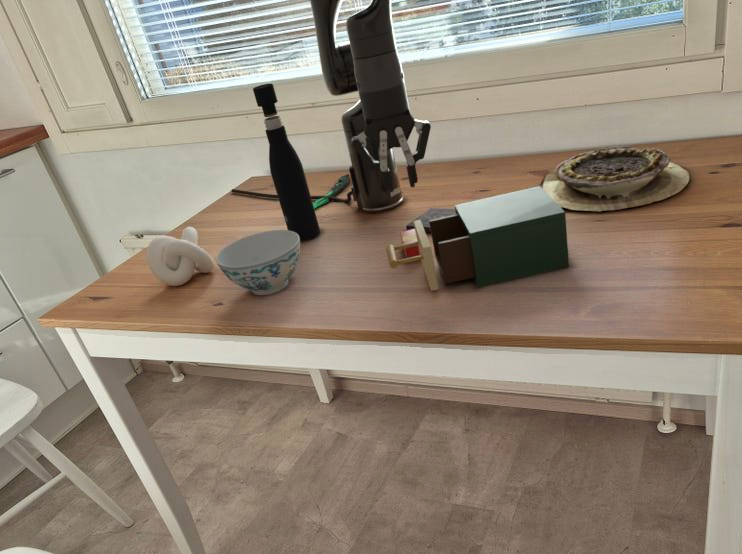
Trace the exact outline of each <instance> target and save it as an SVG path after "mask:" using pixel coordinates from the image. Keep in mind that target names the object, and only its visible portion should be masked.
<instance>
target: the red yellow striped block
mask: <svg viewBox="0 0 742 554" xmlns="http://www.w3.org/2000/svg"><path fill="white" fill-rule="evenodd" d="M399 233H400V238H401V242H402V244H407V243H411V242H415V241H417V237H416V232H415V229H411V230H407V229H406V230H402V231H399ZM403 251H404V255H405V258H410V257H414V256H419V255H420V252H419V247H418V246H414V247H409V248H405V249H403Z"/></svg>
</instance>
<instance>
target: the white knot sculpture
mask: <svg viewBox="0 0 742 554" xmlns="http://www.w3.org/2000/svg"><path fill="white" fill-rule="evenodd" d="M198 238H199V233H198V231H197V228H195V227H193V226H187V227H184V228H183V230H182V233H181V237H180V238H176V237H174V236H169V235H159V236H155V237H154V238H153V239H152V240H151V241H150V242H149V243H148V246H147V248H146V252H145V253H146V261H147V265H148V268H149V269H150V271H151V272H152V274H153V275H154V277H155V278H157V279H158V280H159V281H160V282H161V283H164V284H166V285H168V286H171V287H179V286H183V285H185V284H186V283H188V282H189V281H190V280H191V278H192V277H193V275H194V272H195V271H196V272H199V273H202V274H207V273H210V272H212V271H213V270H214V268H215V261H214V259H213V258H212V256H211V255H210V253H209V252H207V251H206V250H205V249H204V248H202V247H201V246H199V245H198V240H199V239H198Z"/></svg>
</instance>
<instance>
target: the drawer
mask: <svg viewBox="0 0 742 554" xmlns="http://www.w3.org/2000/svg"><path fill="white" fill-rule="evenodd" d="M412 221H413V220H412ZM413 222H414V227H415V232H416V237H417V241H415V242H411V243H407V244H403V243H402V244H398V245H393V244H387V246H386V247H385V251H386V255H387V261H388V265H389V268H390V269H392V270H393V269H394V270H395V269H397V268H398V267H399V265H404V264H409V263H414V262H418V261H421V265H422V267H423V271H424V273H425V277H426V280H427V283H428V285H429V289H430V291H431V292H432V291H437V290H439V284H438V278H437V273H436V268H435V262H434V258H433V257H435V260H436V262H437V264H438V268H439V271H440V272H441V275H442V278H443V280H444V283H445V284H451V283H455V282H460V281H464V280H468V279H474V278H473V277H476V275H475V269H474V262H473V256H472V249H471V242H470V236H469V234H468V232H467V231H466V229H465V227H464V225H463V223H462V221H461V219H460V218H459V216H458V214H455V215H451V216H446V217H442V218H437V219H433V220H429V224H430V230H431V232H430V234H431V241H432V246H433V250H434V256H433V251H432V246H431V243H430V240H429V238H428V236H427V232H425V230H424V228H423V225H422V223H421V220H416V221H413ZM414 246H418V247H419V252H420V255H419V256H414V257H410V258H406V257H405V258H400V259H398V257H397V254H396V253H397V252H396V251H399V250H404V249H405V248H409V247H414Z"/></svg>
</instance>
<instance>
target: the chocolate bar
mask: <svg viewBox="0 0 742 554" xmlns="http://www.w3.org/2000/svg"><path fill="white" fill-rule="evenodd" d="M455 214H456V212H455V208H435V207H431V208H429V209H428V210H426V211H424V212H423V213H422V214H421V215H418V216H417V217H416V218H414V219H413V220H412V221H411V222H409V223H408V224H406V225H405V228H406V231H407V230H411V229H415V227H414V222H413V221H416V220H421V223H422V225H423V228H424V230H425V233H431V230H430V224H429V220H433V219H437V218H442V217H446V216H451V215H455Z"/></svg>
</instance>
